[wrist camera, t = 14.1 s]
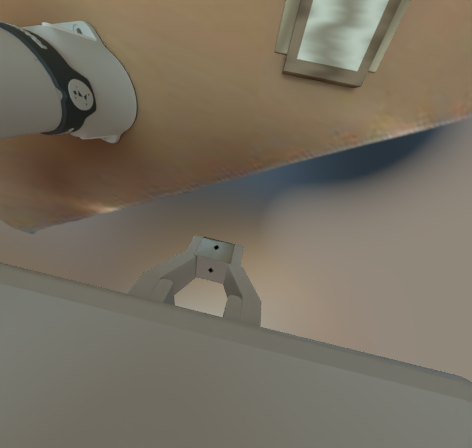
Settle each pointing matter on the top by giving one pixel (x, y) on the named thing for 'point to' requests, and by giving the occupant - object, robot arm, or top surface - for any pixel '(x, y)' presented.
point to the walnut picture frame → (338, 39)
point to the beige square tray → (290, 19)
